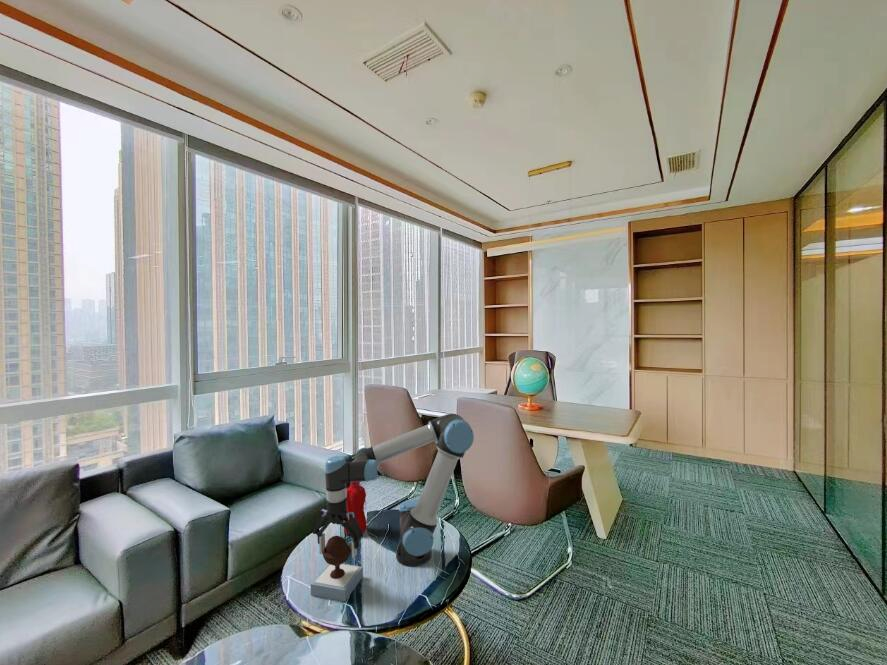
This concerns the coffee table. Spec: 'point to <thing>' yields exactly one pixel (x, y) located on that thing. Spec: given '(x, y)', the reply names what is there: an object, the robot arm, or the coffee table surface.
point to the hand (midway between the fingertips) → (338, 554)
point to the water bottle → (356, 503)
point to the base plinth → (337, 582)
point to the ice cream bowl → (337, 554)
